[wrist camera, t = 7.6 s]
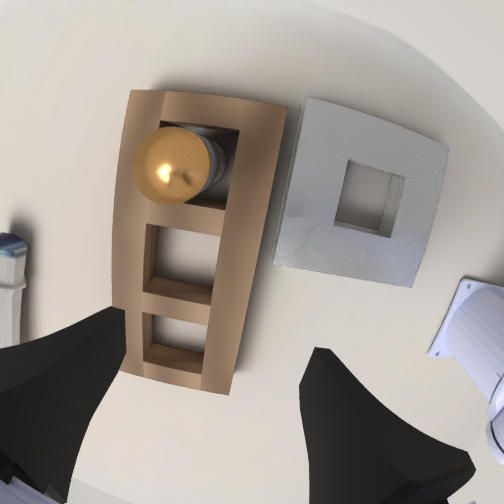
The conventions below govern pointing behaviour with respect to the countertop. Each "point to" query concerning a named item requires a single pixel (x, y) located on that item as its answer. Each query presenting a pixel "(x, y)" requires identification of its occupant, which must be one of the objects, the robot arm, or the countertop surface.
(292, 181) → the socket block
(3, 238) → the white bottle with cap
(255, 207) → the rack
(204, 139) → the steel peg
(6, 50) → the countertop surface
